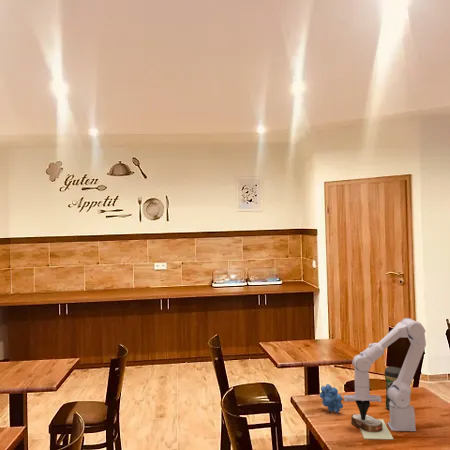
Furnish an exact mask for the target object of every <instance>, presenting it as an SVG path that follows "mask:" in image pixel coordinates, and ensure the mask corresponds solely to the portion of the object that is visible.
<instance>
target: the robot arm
mask: <svg viewBox="0 0 450 450" xmlns="http://www.w3.org/2000/svg"><path fill="white" fill-rule="evenodd" d="M401 338H408V340H409V343H410V344H409V348H408V350H407V353H406V355H405V358H404V361H403V364H402V366H401V367H400V368H401V371H400V373H399V376H398V378H397V380H395V381H394V382H393V384H392V386H391V387H389V389H388V390H387V396H388V398H389V399H390V403H389V407H390V410H389V421H388V422H387V426H388V428H389V430H390V431H392V432H393V431H394V432H417V429H416V413H415V407H414V406H413V405H410V403H411V394H412V389H411V388H412V387H411V384H412V381H413V379H414V376H415V374H416V371H417V369H418V367H419V364H420V361H421V359H422V356H423V353H424V351H425V348H426V346H427V343H426V329H425V328H424V326H423V324H422V323H421V322H419V321H416V320H414V319H412V318H410V317H405V318H403V319H401V321H399V322H397V323H396V325H395V326H394V327H393V328H392V329H391V330H389V332H388V333H387V334H386V335H385V336H384V337H383V338H382V339H380V340H379V342H370V343H369V344H368V346H367V348H366V349H364V350H363V351H361V352H359V354H356V355H355V356H353V359H352V360H351V363H352V366H353V367H354V369H353V370H354V394H347V395H343V401H344V403H347V402H355V404H356V406H357V408H358V410H359V413H360V415H361V419H362V420H365V418H366V414H367V412H368V410H369V409H370V407H371V406H370V405H371V402H378V403H381V402H382V396H381V395H376V394H375V395H374V394H371V393H370V373H369V370H371V368H372V364H374V363H375V362H376V361H377V360H378V359H379V358H381V357H382V356H383V355H385V350H386V349H387V348H388V347H389V346H390V345H392V344H393V343H395V342H396V341H398V339H401Z"/></svg>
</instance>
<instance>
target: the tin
mask: <svg viewBox="0 0 450 450" xmlns="http://www.w3.org/2000/svg"><path fill="white" fill-rule="evenodd" d="M350 419H351V421H350V422H351V424H353V425H354V426H356V427H358V428H359V429H360V428H361V429H363V430H364V431H367V432H380V431H382V430H383V428H382V422H381V421H379V420H378V419H379V418H376V417H374V416H372V415H370V414H369V413H368V414H367V413H366V418H365V420H362V419H361V415H360V412H359V413H354V414H351V418H350Z"/></svg>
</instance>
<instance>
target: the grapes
mask: <svg viewBox="0 0 450 450" xmlns="http://www.w3.org/2000/svg"><path fill="white" fill-rule="evenodd" d="M320 390H321V392H320V393H319V397H320V398H321V400H322V405H323V406H324V407H327V410H328V411H329V412H330V413H333V412H335V413H336V414H338V413H340V410H341V409H343V408H344V405H343V404H344V403H343V402H342V401H343V397H342V395H341V394H339V390H338V389H337V387H335V386H334V387H332V385H331V384H328V383H327V384H326V385H325V386H324V385H322V386H321V387H320Z"/></svg>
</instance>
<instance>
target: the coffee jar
mask: <svg viewBox="0 0 450 450" xmlns="http://www.w3.org/2000/svg"><path fill="white" fill-rule="evenodd" d="M401 368H402V367H397V366H387V367H385V369H384V379H385V386H386V388H385V389H386V390H385V394H386V395H385V409H387V410H389V411H390V407H389V403H390V399H389V398H388V396H387V390H388V389H389V387H391V386H392V384H393V382H394V381H395V380H397V378H398V376H399V373H400V371H401Z"/></svg>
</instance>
